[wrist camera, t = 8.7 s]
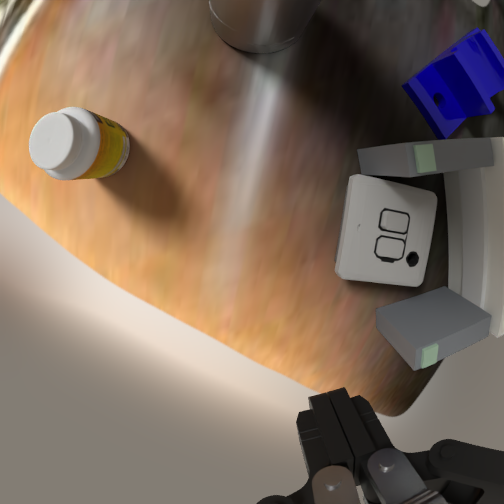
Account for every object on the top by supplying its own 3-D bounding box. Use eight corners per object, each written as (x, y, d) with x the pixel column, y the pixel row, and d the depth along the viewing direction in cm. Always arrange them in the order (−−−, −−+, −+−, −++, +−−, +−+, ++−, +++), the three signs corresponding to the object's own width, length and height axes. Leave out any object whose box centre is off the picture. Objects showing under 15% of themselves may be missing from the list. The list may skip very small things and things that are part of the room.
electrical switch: (423, 288, 27) (346, 284, 25) (393, 274, 32) (321, 269, 30) (440, 193, 25) (365, 171, 23) (408, 190, 30) (336, 172, 28)
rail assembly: (357, 149, 28) (412, 141, 18) (447, 140, 28) (510, 137, 18) (376, 327, 33) (419, 376, 23) (455, 299, 33) (506, 333, 23)
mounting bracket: (436, 140, 28) (470, 137, 22) (399, 86, 27) (430, 73, 21) (498, 74, 26) (527, 68, 20) (469, 30, 24) (497, 18, 19)
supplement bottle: (139, 127, 26) (95, 106, 16) (122, 183, 27) (71, 190, 17) (90, 116, 25) (33, 96, 15) (74, 170, 26) (12, 173, 16)
